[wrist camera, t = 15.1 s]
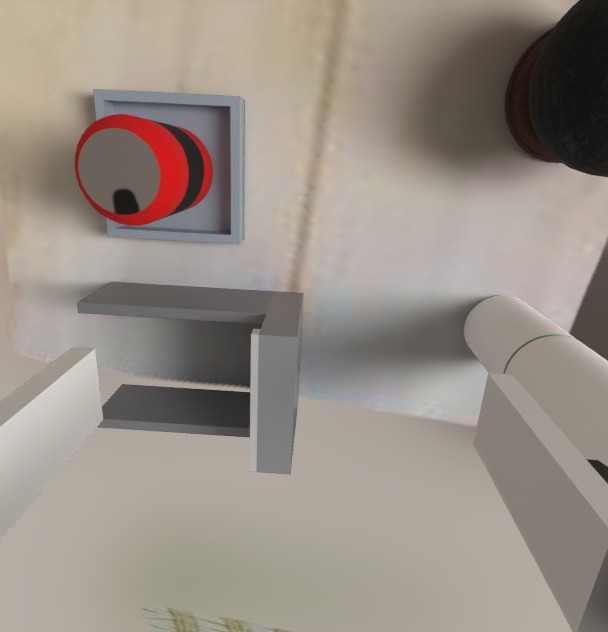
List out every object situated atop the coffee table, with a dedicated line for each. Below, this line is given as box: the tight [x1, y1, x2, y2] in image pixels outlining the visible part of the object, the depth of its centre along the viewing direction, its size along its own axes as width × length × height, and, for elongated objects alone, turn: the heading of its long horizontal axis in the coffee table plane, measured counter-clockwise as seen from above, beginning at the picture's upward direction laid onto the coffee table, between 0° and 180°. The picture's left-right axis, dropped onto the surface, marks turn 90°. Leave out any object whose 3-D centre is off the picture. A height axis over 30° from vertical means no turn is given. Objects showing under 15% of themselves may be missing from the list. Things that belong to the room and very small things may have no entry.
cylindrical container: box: [464, 295, 608, 466], centre depth 34 cm, size 7×7×25 cm
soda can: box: [75, 114, 213, 226], centre depth 36 cm, size 8×8×12 cm
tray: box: [93, 89, 245, 244], centre depth 41 cm, size 13×13×2 cm
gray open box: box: [77, 282, 303, 474], centre depth 42 cm, size 13×20×12 cm, turn 87°
